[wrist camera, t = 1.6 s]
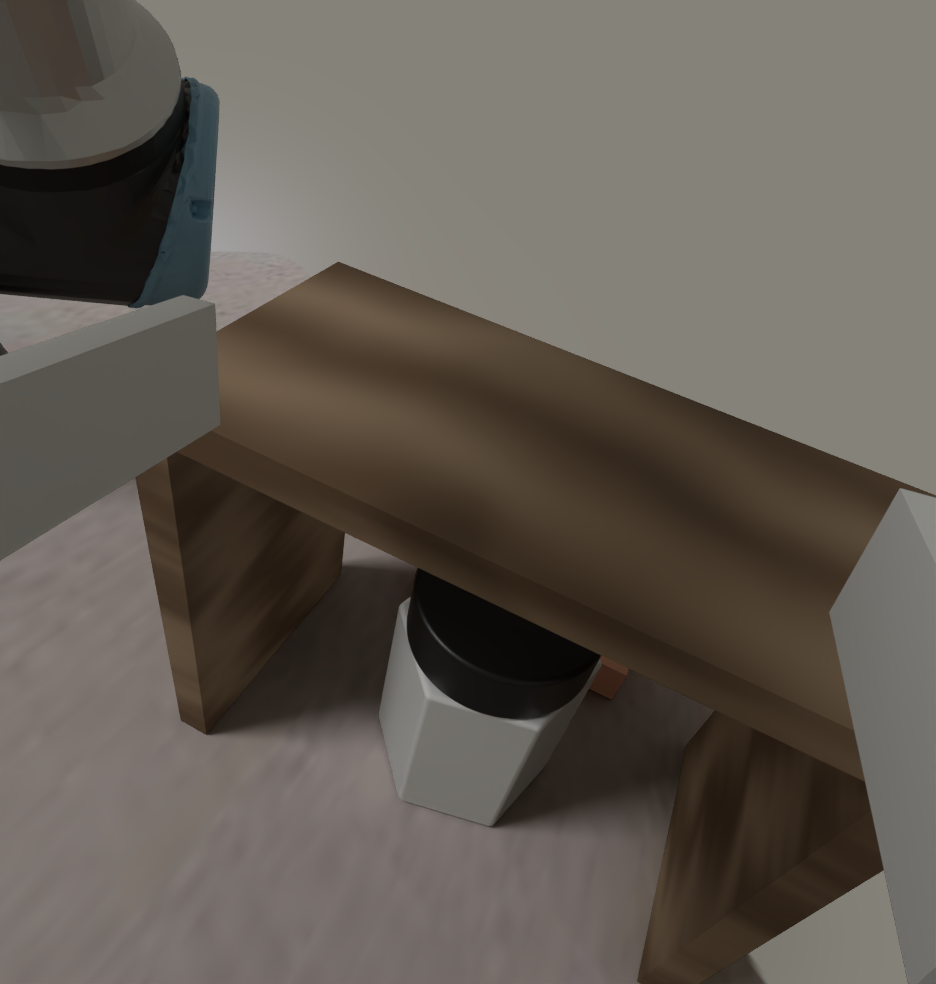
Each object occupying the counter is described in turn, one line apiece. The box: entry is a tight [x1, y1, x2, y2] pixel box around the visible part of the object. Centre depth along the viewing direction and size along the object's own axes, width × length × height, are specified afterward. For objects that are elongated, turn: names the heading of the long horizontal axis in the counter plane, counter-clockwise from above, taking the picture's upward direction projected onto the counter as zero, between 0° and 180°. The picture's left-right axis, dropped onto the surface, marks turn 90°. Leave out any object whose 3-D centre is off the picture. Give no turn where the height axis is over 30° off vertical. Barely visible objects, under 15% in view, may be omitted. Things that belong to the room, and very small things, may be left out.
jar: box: [379, 568, 602, 826], centre depth 31 cm, size 9×8×12 cm
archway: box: [136, 262, 936, 984], centre depth 29 cm, size 12×25×20 cm, turn 65°
